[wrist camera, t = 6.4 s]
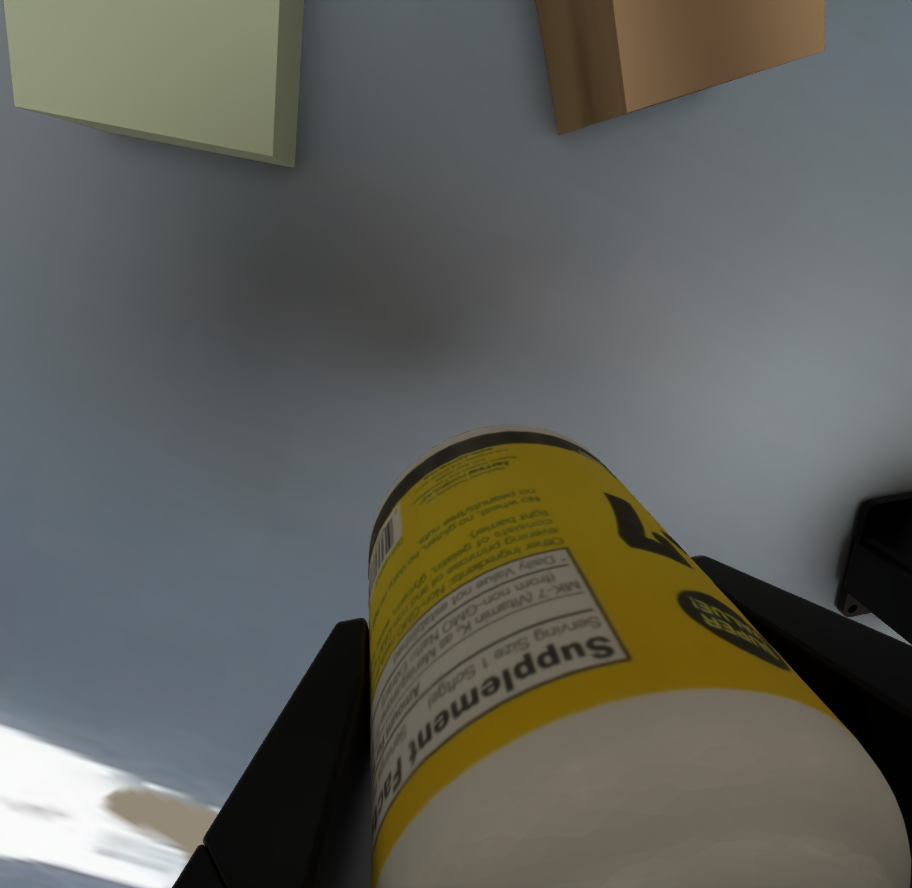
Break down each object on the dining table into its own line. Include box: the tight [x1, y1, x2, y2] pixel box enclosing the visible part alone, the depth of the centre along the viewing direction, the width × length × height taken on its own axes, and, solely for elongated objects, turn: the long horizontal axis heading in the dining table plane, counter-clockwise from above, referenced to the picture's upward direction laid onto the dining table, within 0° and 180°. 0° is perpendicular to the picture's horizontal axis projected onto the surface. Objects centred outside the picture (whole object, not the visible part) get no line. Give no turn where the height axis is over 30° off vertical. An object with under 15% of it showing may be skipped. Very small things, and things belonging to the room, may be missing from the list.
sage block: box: [4, 0, 304, 168], centre depth 13 cm, size 5×5×5 cm
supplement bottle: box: [368, 425, 911, 888], centre depth 7 cm, size 5×5×8 cm
